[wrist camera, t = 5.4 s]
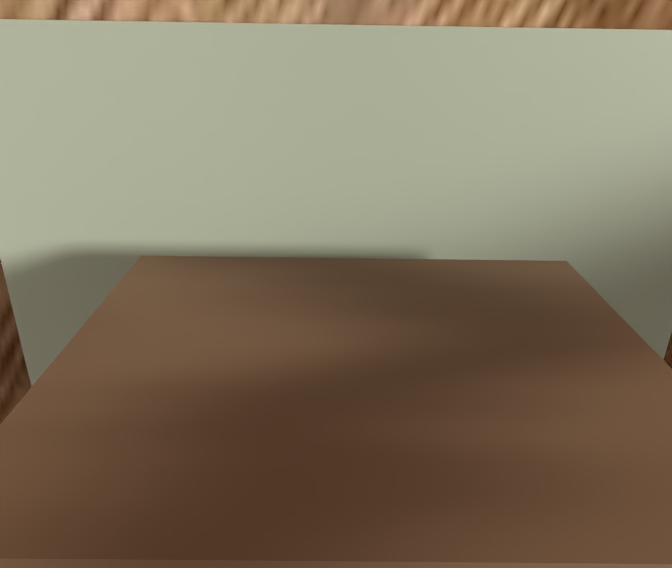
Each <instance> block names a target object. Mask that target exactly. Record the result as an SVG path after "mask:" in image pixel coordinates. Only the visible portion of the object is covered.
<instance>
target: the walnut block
mask: <svg viewBox="0 0 672 568" xmlns="http://www.w3.org/2000/svg"><path fill="white" fill-rule="evenodd" d="M0 568H672V368H671V367H670V366H669V365H668V364H667V363H666V362H665V361H664V360H663V359H662V358H661V357H660V356H659V355H658V354H657V353H656V352H655V351H654V350H653V349H652V348H651V347H650V346H649V345H648V344H647V343H646V342H645V341H644V340H643V339H642V338H641V337H640V336H639V335H638V334H637V333H636V332H635V331H634V329H633V328H632V327H631V326H630V325H629V324H628V323H627V322H626V321H625V320H624V319H623V318H622V317H621V316H620V315H619V314H618V313H617V312H616V311H615V310H614V309H613V308H612V307H611V306H610V305H609V304H608V303H607V302H606V301H605V300H604V299H603V298H602V297H601V296H600V295H599V294H598V293H597V291H596V290H595V289H594V288H593V287H592V286H591V285H590V284H589V283H588V282H587V281H586V280H585V279H584V278H583V277H582V276H581V275H580V274H579V273H578V272H577V271H576V270H575V269H574V268H573V267H572V266H571V265H570V264H569V263H568V262H567V261H537V260H456V259H375V258H294V257H213V256H140V257H139V259H138V260H137V261H136V262H135V263H134V265H133V266H132V267H131V268H130V269H129V271H128V272H127V273H126V274H125V275H124V277H123V278H122V279H121V280H120V281H119V283H118V284H117V285H116V286H115V287H114V289H113V290H112V291H111V292H110V293H109V295H108V296H107V297H106V298H105V299H104V301H103V302H102V303H101V304H100V305H99V307H98V308H97V309H96V310H95V311H94V313H93V314H92V315H91V316H90V317H89V319H88V320H87V321H86V322H85V323H84V325H83V326H82V327H81V328H80V329H79V331H78V332H77V333H76V334H75V335H74V337H73V338H72V339H71V340H70V341H69V343H68V344H67V345H66V346H65V347H64V349H63V350H62V351H61V352H60V353H59V355H58V356H57V357H56V358H55V359H54V361H53V362H52V363H51V364H50V365H49V367H48V368H47V369H46V370H45V371H44V373H43V374H42V375H41V376H40V377H39V379H38V380H37V381H36V382H35V383H34V385H33V386H32V387H31V388H30V389H29V391H28V392H27V393H26V394H25V395H24V397H23V398H22V399H21V400H20V401H19V402H18V404H17V405H16V406H15V407H14V408H13V410H12V411H11V412H10V413H9V414H8V416H7V417H6V418H5V419H4V420H3V422H2V423H1V424H0Z"/></svg>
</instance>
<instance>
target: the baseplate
mask: <svg viewBox="0 0 672 568" xmlns="http://www.w3.org/2000/svg"><path fill="white" fill-rule="evenodd" d="M140 256H213V257H294V258H375V259H456V260H537V261H567V262H568V263H569V264H570V265H571V266H572V267H573V268H574V269H575V270H576V271H577V272H578V273H579V274H580V275H581V276H582V277H583V278H584V279H585V280H586V281H587V282H588V283H589V284H590V285H591V286H592V287H593V288H594V289H595V290H596V291H597V293H598V294H599V295H600V296H601V297H602V298H603V299H604V300H605V301H606V302H607V303H608V304H609V305H610V306H611V307H612V308H613V309H614V310H615V311H616V312H617V313H618V314H619V315H620V316H621V317H622V318H623V319H624V320H625V321H626V322H627V323H628V324H629V325H630V326H631V327H632V328H633V329H634V331H635V332H636V333H637V334H638V335H639V336H640V337H641V338H642V339H643V340H644V341H645V342H646V343H647V344H648V345H649V346H650V347H651V348H652V349H653V350H654V351H655V352H656V353H657V354H658V355H659V356H660V357H661V358H662V359H663V360H664V357H665V353H666V350H667V346H668V343H669V340H670V336H671V333H672V30H640V29H578V28H516V27H454V26H392V25H330V24H268V23H206V22H144V21H82V20H20V19H0V260H1V264H2V268H3V272H4V276H5V280H6V285H7V289H8V293H9V297H10V301H11V305H12V309H13V313H14V317H15V321H16V325H17V330H18V334H19V338H20V342H21V346H22V350H23V354H24V358H25V362H26V366H27V370H28V375H29V379H30V383H31V387H32V386H33V385H34V383H35V382H36V381H37V380H38V379H39V377H40V376H41V375H42V374H43V373H44V371H45V370H46V369H47V368H48V367H49V365H50V364H51V363H52V362H53V361H54V359H55V358H56V357H57V356H58V355H59V353H60V352H61V351H62V350H63V349H64V347H65V346H66V345H67V344H68V343H69V341H70V340H71V339H72V338H73V337H74V335H75V334H76V333H77V332H78V331H79V329H80V328H81V327H82V326H83V325H84V323H85V322H86V321H87V320H88V319H89V317H90V316H91V315H92V314H93V313H94V311H95V310H96V309H97V308H98V307H99V305H100V304H101V303H102V302H103V301H104V299H105V298H106V297H107V296H108V295H109V293H110V292H111V291H112V290H113V289H114V287H115V286H116V285H117V284H118V283H119V281H120V280H121V279H122V278H123V277H124V275H125V274H126V273H127V272H128V271H129V269H130V268H131V267H132V266H133V265H134V263H135V262H136V261H137V260H138V259H139V257H140Z"/></svg>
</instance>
